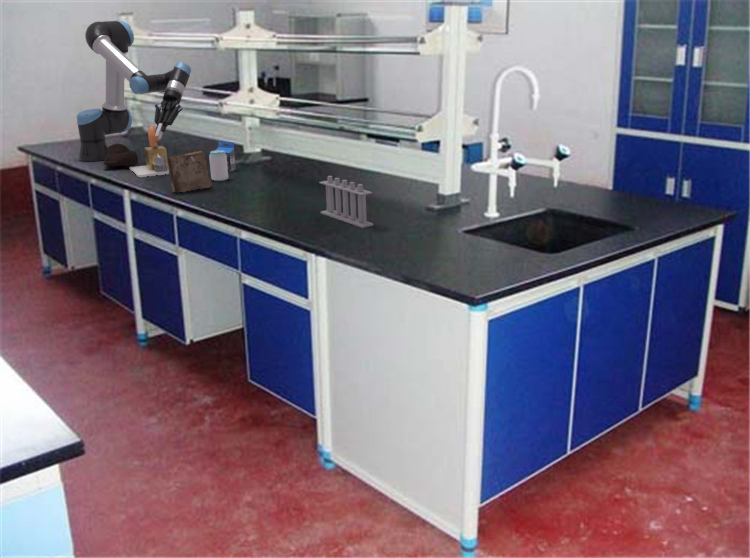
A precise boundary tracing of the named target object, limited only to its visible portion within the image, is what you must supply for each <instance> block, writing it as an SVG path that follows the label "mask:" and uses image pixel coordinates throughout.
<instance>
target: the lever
mask: <svg viewBox="0 0 750 558" xmlns="http://www.w3.org/2000/svg"><path fill="white" fill-rule="evenodd" d="M155 133H156V128H155V125H150V126H149V129H147V135H148V143H149V147H154V146H156V142H157V143H158V142H160V139H157V138H156V137H155Z"/></svg>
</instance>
